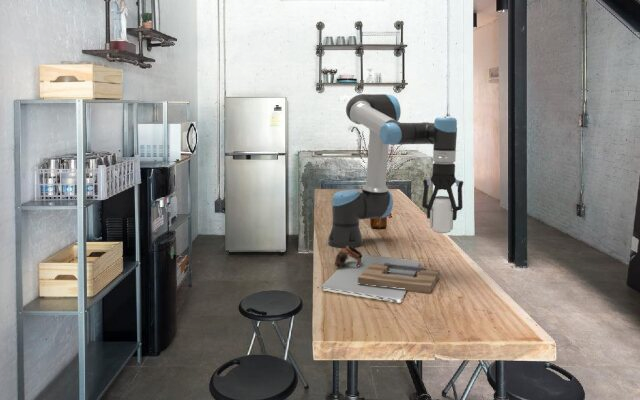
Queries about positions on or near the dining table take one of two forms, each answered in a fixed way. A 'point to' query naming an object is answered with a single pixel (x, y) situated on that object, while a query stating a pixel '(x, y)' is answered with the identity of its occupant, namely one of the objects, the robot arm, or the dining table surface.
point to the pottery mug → (344, 254)
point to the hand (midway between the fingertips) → (441, 228)
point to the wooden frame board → (399, 279)
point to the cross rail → (404, 267)
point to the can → (441, 214)
